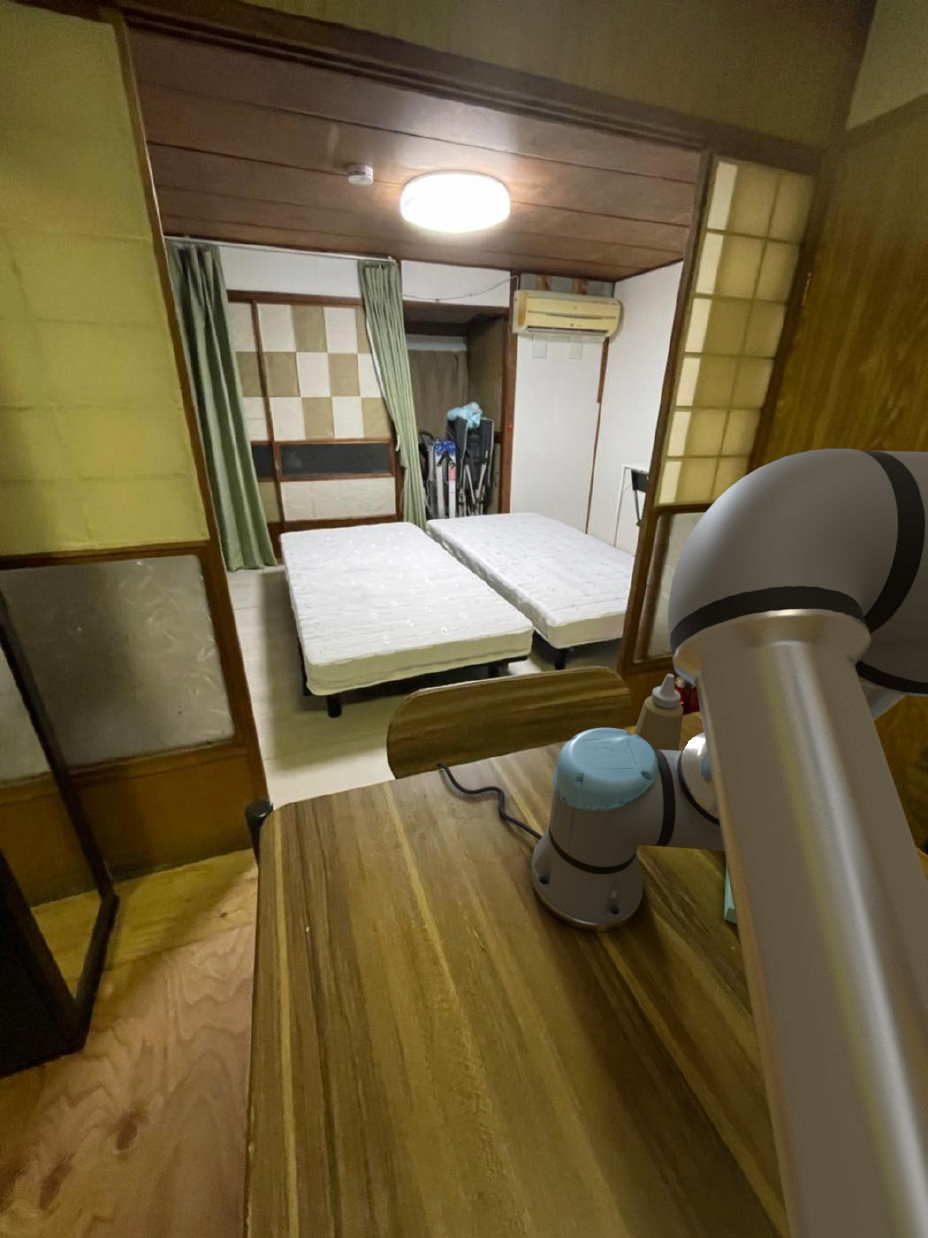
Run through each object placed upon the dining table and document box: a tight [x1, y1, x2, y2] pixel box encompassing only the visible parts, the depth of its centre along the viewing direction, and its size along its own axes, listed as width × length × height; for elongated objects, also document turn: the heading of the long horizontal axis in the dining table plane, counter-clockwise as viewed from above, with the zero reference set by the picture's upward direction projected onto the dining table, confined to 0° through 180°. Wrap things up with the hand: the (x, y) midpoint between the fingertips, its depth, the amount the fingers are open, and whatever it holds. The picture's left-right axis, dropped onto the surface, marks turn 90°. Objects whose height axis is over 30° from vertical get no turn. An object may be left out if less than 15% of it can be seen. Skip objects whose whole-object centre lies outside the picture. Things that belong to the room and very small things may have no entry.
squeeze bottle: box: [633, 673, 684, 751], centre depth 92 cm, size 8×8×18 cm
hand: (892, 993), depth 44 cm, fingers open, 13 cm apart
